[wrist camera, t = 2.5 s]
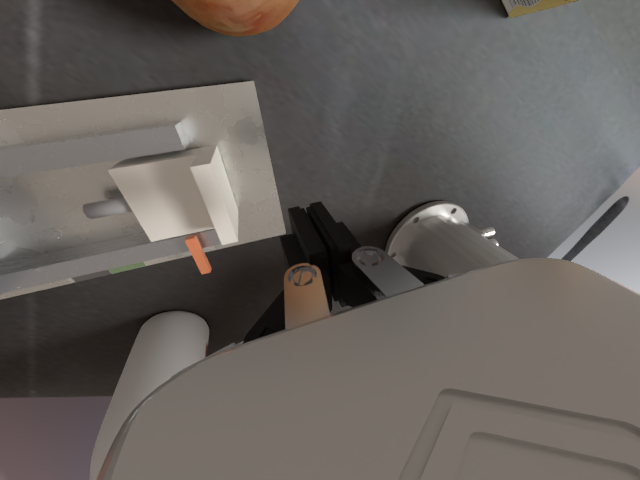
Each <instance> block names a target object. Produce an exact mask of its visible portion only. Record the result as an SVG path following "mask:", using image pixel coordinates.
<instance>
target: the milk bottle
mask: <svg viewBox="0 0 640 480" xmlns="http://www.w3.org/2000/svg"><path fill="white" fill-rule="evenodd" d="M208 340H209V327H208V325H207V323H206V321H205V320H204V319H203V318H201V317H200V316H198V315H196V314H194V313H191V312H186V311H168V312H163V313H160V314H157V315H155V316H153V317H151V318H150V319H149V320H148V321H146V322H145V323H144V324H143V325H142V327H141V329H140V331H139V333H138V335H137V337H136V340H135V342H134V345H133V347H132V349H131V352H130V354H129V357H128V359H127V362H126V364H125V367H124V369H123V372H122V374H121V376H120V379H119V381H118V384H117V386H116V389H115V391H114V394H113V396H112V399H111V402H110V404H109V407H108V409H107V412H106V414H105V417H104V420H103V422H102V425H101V428H100V431H99V433H98V436H97V439H96V443H95V447H94V450H93V454H92V459H91V466H90V480H97V477H98V474H99V472H100V470H101V467H102V465H103V462H104V460H105V458H106V456H107V453H108V451H109V449H110V447H111V445H112V443H113V441H114V439H115V437H116V435H117V433H118V431H119V430H120V428H121V426H122V424H123V423H124V421H125V420H126V419H127V417H128V416H129V414H130V413H131V412H132V411H133V409H134V408H135V407H136V406H137V405H138V404H139V403H140V402H141V401H142V400H143V399H144V398H145V397H147V396H148V395H149V394H150V393H151V392H152V391H154V390H155V389H156V388H157V387H159V386H160V385H161V384H163V383H164V382H166V381H167V380H169V379H170V378H171V377H172V376H173V375H175V374H176V373H178V372H179V371H181V370H183V369H185V368H187V367H188V366H190V365H192V364H194V363H196V362H198V361H200V360H202V359H204V358H205V357H207V349H208Z"/></svg>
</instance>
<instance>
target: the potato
mask: <svg viewBox="0 0 640 480" xmlns="http://www.w3.org/2000/svg"><path fill="white" fill-rule="evenodd" d="M172 1H173V2H174V3H175V4H176V5H177V6H178V7H179V8H181V9H182V10H183V11H184V12H185V13H186V14H187V15H188V16H189V17H191V18H193V19H194V20H196V21H197V22H198V23H200V24H201V25H202V26H204V27H206V28H208V29H211V30H213V31H216V32H218V33H221V34H225V35H229V36H241V37H242V36H250V35H256V34H259V33H262V32H265V31H268V30H270V29H272V28H274V27H276V26H277V25H278V24H279V23H281V22H282V21H283V20H284V19H285V18H286V17H287V16H288V15H289V13H290V12H291V11H292V10H293V9H294V7H295V6H296V5H297V3H298V2H299V0H172Z"/></svg>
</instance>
